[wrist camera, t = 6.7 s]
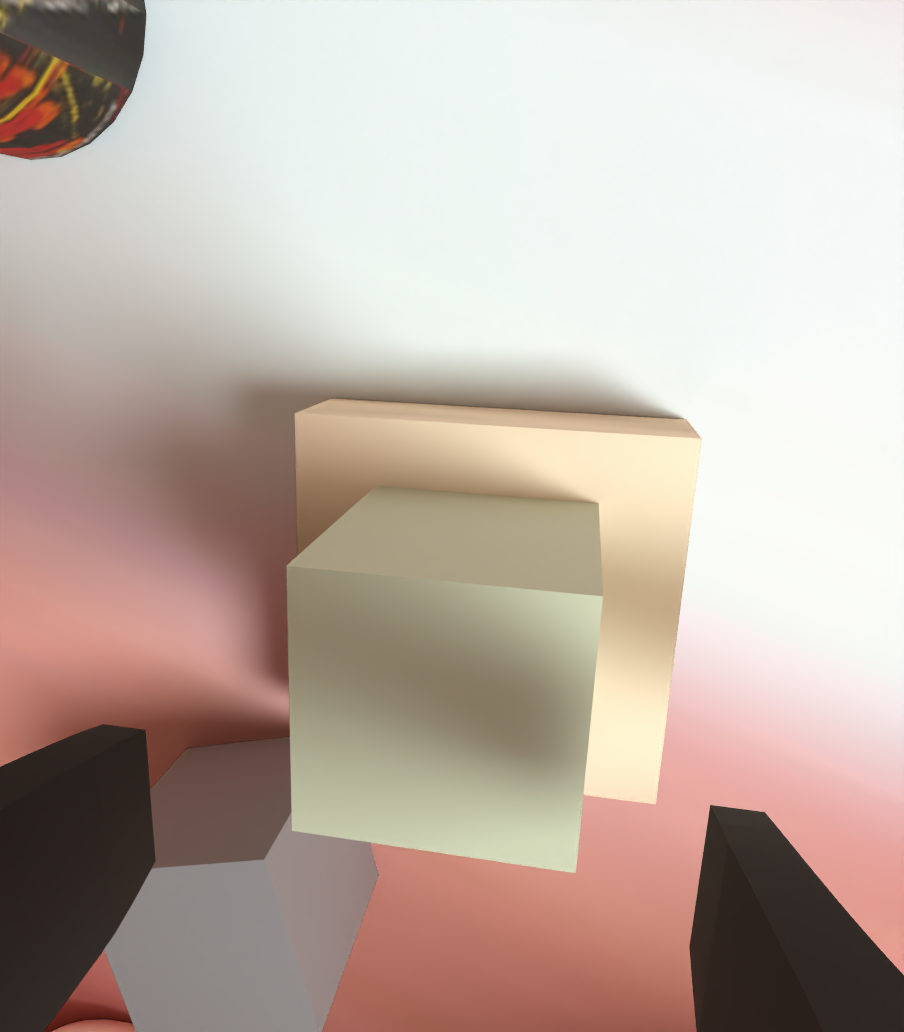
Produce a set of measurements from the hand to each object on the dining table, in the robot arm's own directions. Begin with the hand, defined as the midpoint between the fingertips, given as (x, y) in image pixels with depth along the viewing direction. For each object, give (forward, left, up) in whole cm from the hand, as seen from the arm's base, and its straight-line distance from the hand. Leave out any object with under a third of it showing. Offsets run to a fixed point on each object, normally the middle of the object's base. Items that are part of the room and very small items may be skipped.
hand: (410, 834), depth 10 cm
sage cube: (0, 0, -7) cm, 7 cm away
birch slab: (0, 0, -9) cm, 9 cm away
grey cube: (-7, +6, -10) cm, 13 cm away
